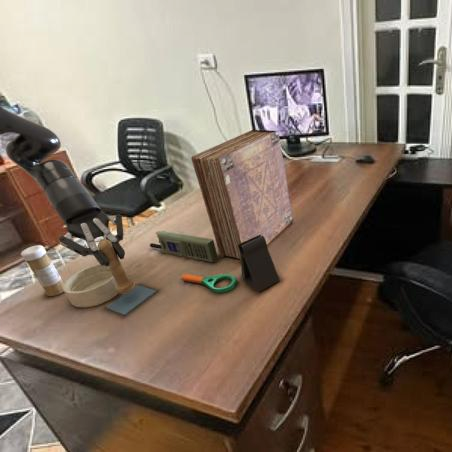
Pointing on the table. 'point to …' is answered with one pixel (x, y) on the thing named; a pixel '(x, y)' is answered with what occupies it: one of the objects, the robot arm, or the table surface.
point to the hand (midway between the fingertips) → (115, 261)
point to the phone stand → (257, 263)
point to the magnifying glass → (214, 279)
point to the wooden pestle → (116, 267)
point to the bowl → (90, 286)
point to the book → (244, 189)
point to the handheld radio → (186, 246)
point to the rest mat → (131, 300)
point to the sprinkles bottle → (43, 269)
